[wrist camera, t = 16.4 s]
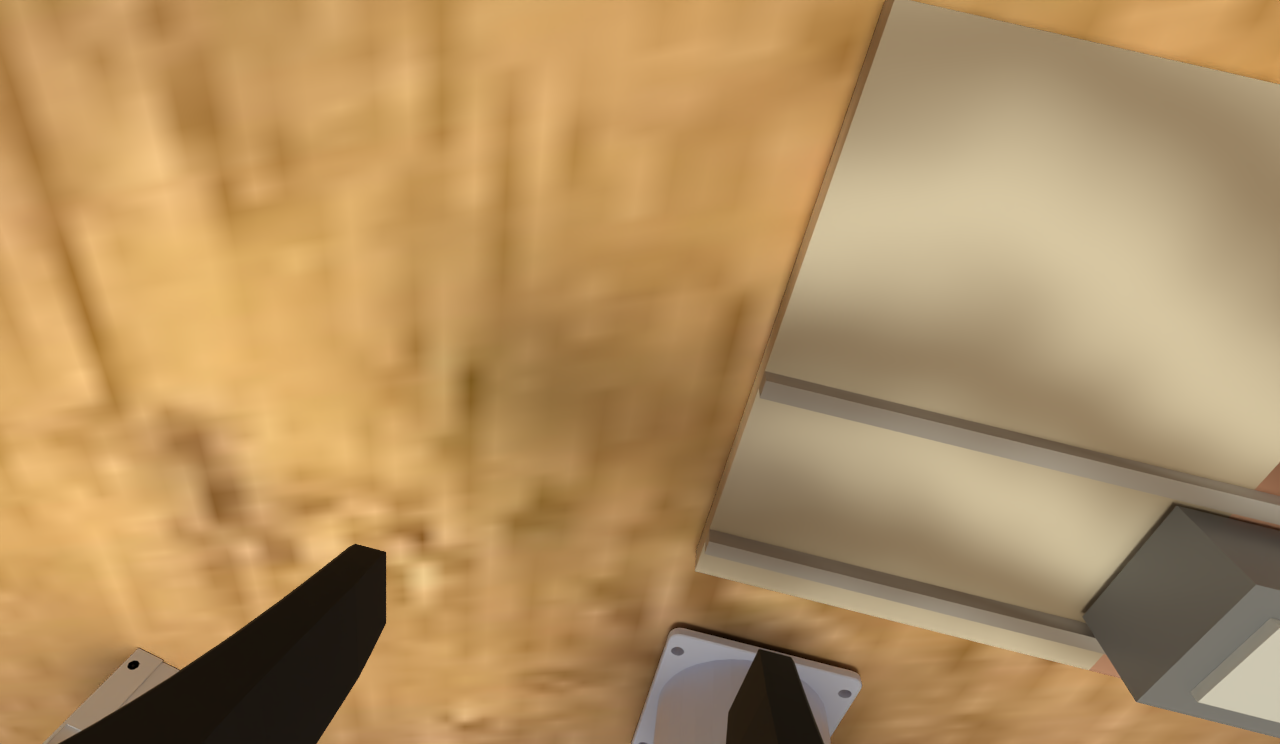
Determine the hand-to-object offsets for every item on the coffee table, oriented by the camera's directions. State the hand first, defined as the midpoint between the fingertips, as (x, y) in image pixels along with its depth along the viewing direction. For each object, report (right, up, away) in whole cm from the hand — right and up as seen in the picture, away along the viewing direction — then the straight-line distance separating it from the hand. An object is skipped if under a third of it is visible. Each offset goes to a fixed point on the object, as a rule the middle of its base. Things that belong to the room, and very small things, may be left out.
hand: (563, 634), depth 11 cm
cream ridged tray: (+17, +3, +7) cm, 18 cm away
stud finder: (+20, -2, +7) cm, 21 cm away
